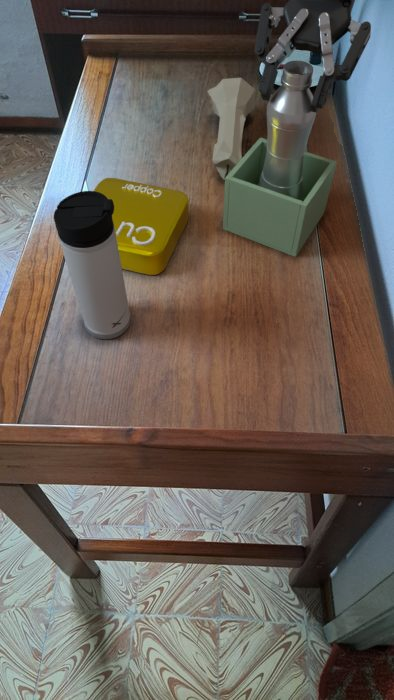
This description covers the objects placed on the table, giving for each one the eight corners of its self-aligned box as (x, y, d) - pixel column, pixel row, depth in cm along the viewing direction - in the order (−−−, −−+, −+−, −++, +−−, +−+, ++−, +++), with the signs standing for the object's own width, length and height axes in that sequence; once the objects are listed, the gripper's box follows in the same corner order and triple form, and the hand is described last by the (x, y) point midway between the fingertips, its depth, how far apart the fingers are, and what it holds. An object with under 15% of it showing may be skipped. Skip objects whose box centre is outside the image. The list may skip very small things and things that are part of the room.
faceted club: (260, 106, 99) (257, 192, 86) (218, 115, 102) (208, 201, 88) (251, 61, 92) (246, 148, 79) (206, 72, 95) (194, 158, 81)
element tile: (192, 214, 83) (191, 189, 79) (160, 279, 74) (158, 255, 70) (107, 196, 85) (102, 171, 81) (68, 257, 77) (61, 233, 73)
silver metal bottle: (279, 221, 76) (301, 88, 59) (247, 198, 79) (260, 66, 62) (308, 202, 78) (337, 69, 62) (276, 181, 81) (295, 49, 65)
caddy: (324, 213, 83) (337, 161, 75) (295, 257, 77) (306, 206, 69) (254, 188, 86) (260, 137, 78) (222, 229, 81) (224, 177, 73)
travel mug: (131, 339, 68) (110, 224, 52) (82, 340, 68) (46, 225, 52) (134, 304, 72) (115, 185, 55) (87, 304, 72) (54, 186, 55)
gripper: (273, -71, 59) (229, 81, 62) (398, -52, 55) (343, 107, 59) (283, -33, 66) (242, 102, 69) (394, -14, 62) (345, 126, 66)
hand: (289, 104), depth 64 cm, fingers closed on silver metal bottle, 6 cm apart
